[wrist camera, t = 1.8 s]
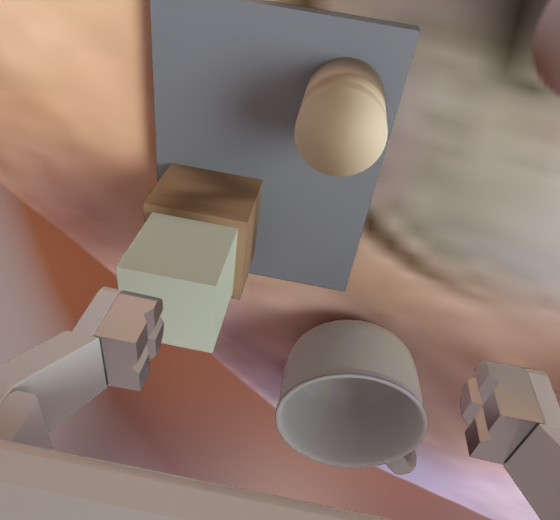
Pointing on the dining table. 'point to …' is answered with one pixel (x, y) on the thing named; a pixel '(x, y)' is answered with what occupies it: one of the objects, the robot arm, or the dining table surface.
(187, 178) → the walnut base block
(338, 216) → the slate board
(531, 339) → the dining table surface
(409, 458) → the teacup
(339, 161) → the beech cylinder
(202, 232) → the sage top block
